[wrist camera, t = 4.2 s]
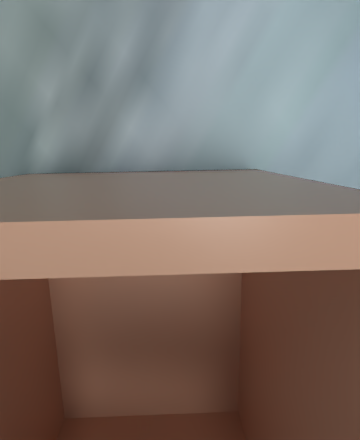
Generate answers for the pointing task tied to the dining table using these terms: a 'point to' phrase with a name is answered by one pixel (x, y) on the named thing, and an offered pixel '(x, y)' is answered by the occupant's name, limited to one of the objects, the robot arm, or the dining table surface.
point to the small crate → (179, 307)
